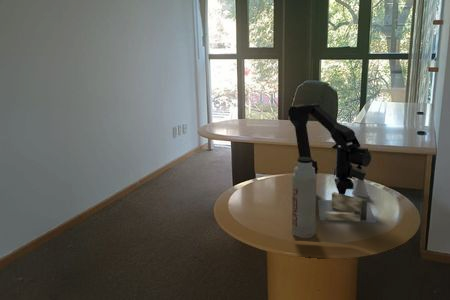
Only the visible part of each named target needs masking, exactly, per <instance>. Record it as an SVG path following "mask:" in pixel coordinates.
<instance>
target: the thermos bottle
mask: <svg viewBox="0 0 450 300" xmlns="http://www.w3.org/2000/svg"><path fill="white" fill-rule="evenodd" d="M312 159H313V158H312V157H311V158H309V157H300V158H299V157H297V162H296V163H297V166H295V167H294V170H293V171H294V172H293V173H292V184H291V185H292V186H291V187H292V189H291V190H292V195H291V198H292V199H291V200H292V204H291V205H292V206H291V207H292V209H291V234H292V235H293V236H295V237H297V238H303V239H307V238H312V237H314V236H315V235H316V210H317V209H316V206H317V202H316V201H317V177H318V176H317V175H318V174H317V175H316V174H315V168H314V167H312Z"/></svg>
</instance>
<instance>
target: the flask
mask: <svg viewBox="0 0 450 300" xmlns="http://www.w3.org/2000/svg"><path fill="white" fill-rule="evenodd" d="M356 179H357V178H356ZM351 195H354V197H363V198H369V193H368V189H367V186H366V183H365V179H364V180H363V181H361V180H360V179H357V180H356V184H355V185H354V189H352V193H351Z"/></svg>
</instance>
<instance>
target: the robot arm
mask: <svg viewBox="0 0 450 300" xmlns="http://www.w3.org/2000/svg"><path fill="white" fill-rule="evenodd" d="M287 112H288V117H289V121H290V122H291V124H292V125H293V126H294V128H295V129H294V132H295V137H296V144H297V151H298V158H300V157H309V158H312V155H311V147H310V141H309V134H308V133H309V132H308V126H307V124H308V121H309V118H310V117H309V116H310V115H311V116H312V117H313V118H314V119H315V120H316V121H317V122H318V123H319V124H320V125H322V127H324V128H325V129H326V131H328V132H329V133H330V136H331V139H332V140H333V141H334V142H335V144H334V145H332V146H331V149H334V150H336V158H335V159H336V160H335V168H334V169H333V170H332V171H333V173H332V174H333V177H335V178H334V183H335V187H336V189H337V193H340V194H343V195H346V192H347V190H354V188H355V185H354V181H353V180H352V179H353V178H355V179H360V180H361V181H363V180H364V181H365V177H366V176H367V171H366V170H364V169H363V168H364V167H368V166H369V165H370V163H371V162H372V161H371V160H372V154H371V153H370V151H369V148H365V147H361V144H360V142H359V140H358V138H357V136H356V133H355V131H354V130H353V129H352V128H350V127H348V126H347V125H344V124H341V123H339V122H338V121H337V120H336V119H335V118H334V117H332V116H331V115H330V114H329V113H328V112H326V111H325V110H324V109H323V108H322V107H321V106H320V104H318V103H312V104H308V105H305V104H298V105H292V106H290V108H289V109H288V111H287ZM353 165H355V166H353ZM312 167H314V168H315V174H316V175H318V171H319V168H318V162H317V160H315V161H314V160H313V158H312Z"/></svg>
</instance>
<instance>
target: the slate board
mask: <svg viewBox="0 0 450 300" xmlns="http://www.w3.org/2000/svg"><path fill="white" fill-rule="evenodd" d="M317 201H318V202H317V205H318V216H319V221H326V220H325V211H326V212H345V211H342V210H338V209H335V208H332V207H331V206H332V199H317ZM370 206H371V205H370V204H369V202H368V201H367V216H366V220H362V219H361V216H360V221H349V222H350V223H351V222H352V223H353V222H354V223H357V222H358V223H371V224H372V223H373V224H376V223H377V222H376V219H375V216H374V214H373V211H372V209H371V207H370ZM329 221H330V222H331V221H333V222H335V221H336V222H345V221H344V220H329Z"/></svg>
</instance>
